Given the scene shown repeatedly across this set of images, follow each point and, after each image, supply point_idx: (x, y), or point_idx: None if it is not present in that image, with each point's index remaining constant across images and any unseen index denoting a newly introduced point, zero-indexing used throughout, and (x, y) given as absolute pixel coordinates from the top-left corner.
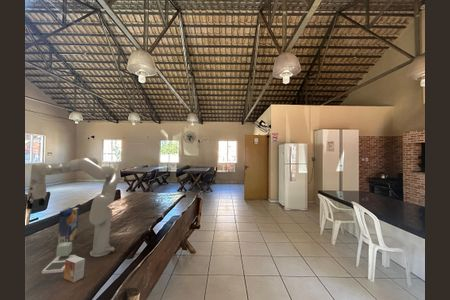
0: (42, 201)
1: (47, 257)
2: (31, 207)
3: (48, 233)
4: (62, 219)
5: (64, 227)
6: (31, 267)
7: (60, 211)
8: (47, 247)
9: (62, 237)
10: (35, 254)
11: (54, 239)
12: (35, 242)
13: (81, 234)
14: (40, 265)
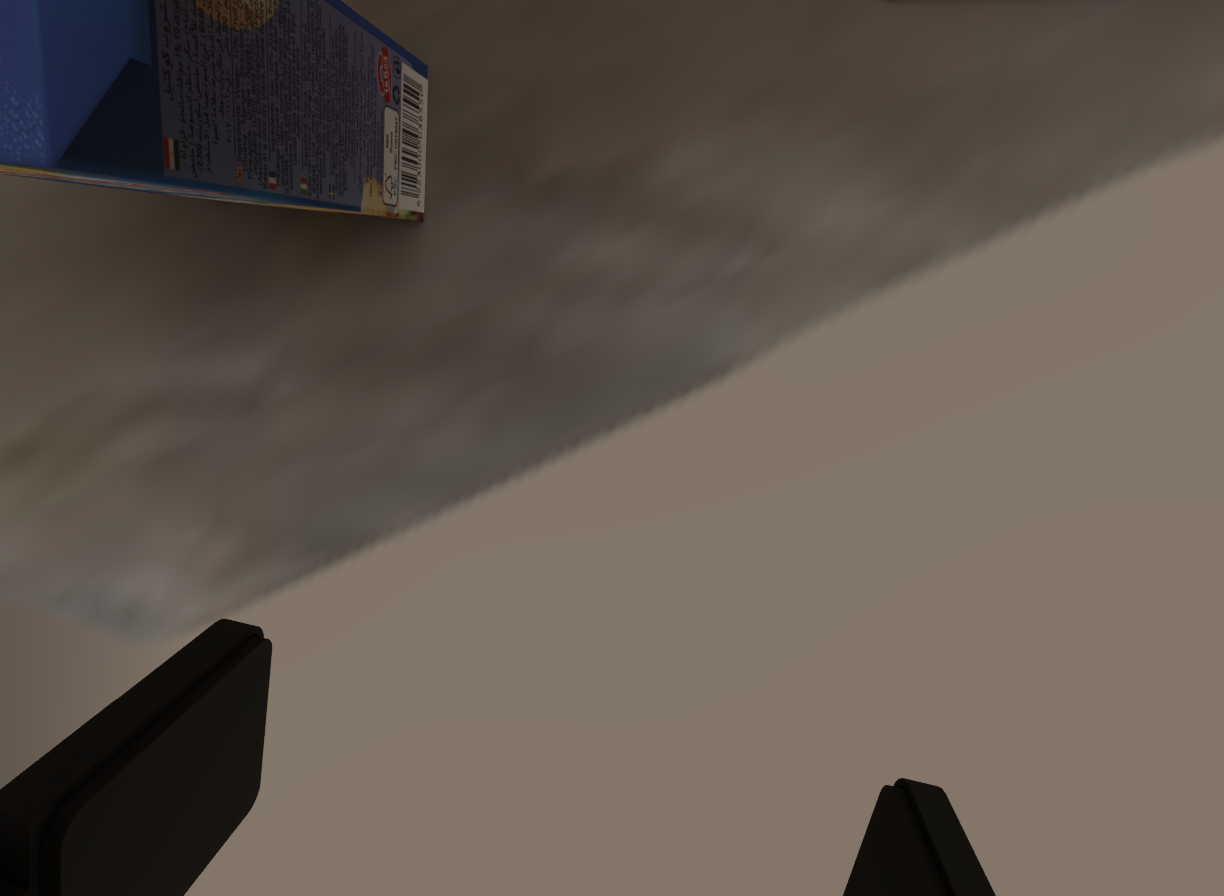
0: (132, 811)
1: (829, 149)
2: (958, 851)
3: (67, 498)
4: (210, 114)
5: (309, 93)
6: (1071, 202)
7: (30, 159)
8: (516, 297)
9: (389, 147)
10: (707, 336)
11: (262, 333)
12: (349, 506)
13: None
14: (1048, 122)
